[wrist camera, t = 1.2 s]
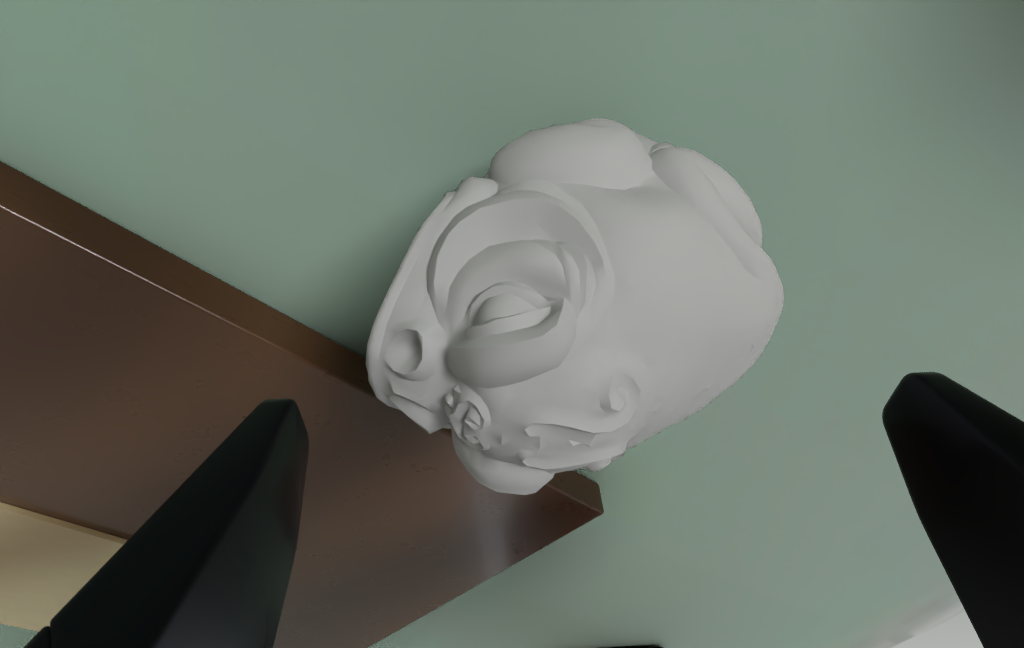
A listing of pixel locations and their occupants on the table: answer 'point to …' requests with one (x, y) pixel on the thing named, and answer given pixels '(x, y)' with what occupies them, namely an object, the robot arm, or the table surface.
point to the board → (219, 435)
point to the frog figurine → (574, 303)
